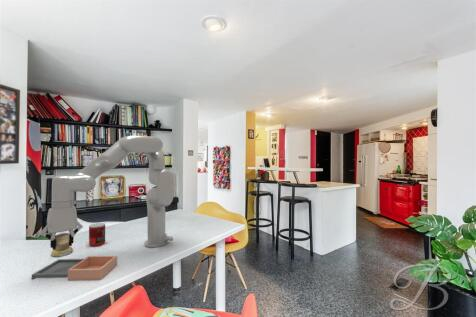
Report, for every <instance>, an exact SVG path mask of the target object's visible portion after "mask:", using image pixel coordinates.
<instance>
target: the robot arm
mask: <svg viewBox="0 0 476 317" xmlns="http://www.w3.org/2000/svg"><path fill="white" fill-rule="evenodd" d="M163 147H164V143H163V141H162V139H161V138H160V137H158V136H148V135H147V136H145V135H127V136H126V135H125V136H122V137H121V138H119V139H118V140H117V141H116V142H115V143H113V144H112V145H111V146H110V147H108V149H106V150H105V151H104V152H103V153H101V155H98V157H96V158H95V159H94V160H92V161H91V162H90V163H88V164H87V165H86V166H84V167H83V168H82V169H80V171H78V172H77V173H76V174H75V175H74V176H71V175H56V176H55V175H54V177H52V180H51V207H50V208H49V209H48V212H47V218H46V226H45V227H43V229H42V230H41V231H39V235H40V236H42V237H45V238H46V239H48V240H50V248H52V251H53V250H55V249H56V240H55V235H57V233H58V234H59V233H62V232H63V233H64V232H67V231H68V233H69V234H70V241H69V246H70V247H72V246H73V244H74V237H75V235H76V234H78V232H79V231H80V230H81V229H83V228H84V226H83V225H82V224H81V223H80V222H79V221H78V215H77V209H76V208H77V206H75V205H76V204H78V203H79V200H76V199H75V196H74V195H75V192H77V193H79V192H82V193H85V192H90V191H92V190H93V189H94V188H95V187H96V184H97V181H96V179H97V178H99V177H100V176H101V175H103V174H104V173H106V172H109V171H111V170H113V169H114V168H116V167H117V166H119V164H120V163H122V162H123V160H125V159H126V158H127V157H128V156H129V155H130V154H132V153H136V154H137V153H138V154H140V153H142V154H143V153H144V154H145V155H146V157H147V159H148V181H149V183H150V184H151V185H154V186H156V187H152V188H150V189H149V190H148V191H147V192H146V195H145V200H146V208H147V240H146V241H145V242H144V246H145V247H147V248H159V247H163V246H166V245H167V244H168V243H169V242H172V241H173V240H174V239H173V236H168V234H167V233H166V207H169V206H170V205H171V204H172V202H173V200H174V184H175V183H174V182H175V181H174V180H175V179H174V175H173V173H172V172H171V171H170V170H169V169H167V168H166V164H165V156H164V153H163V152H162V150H163Z"/></svg>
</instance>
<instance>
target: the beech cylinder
mask: <svg viewBox="0 0 476 317" xmlns="http://www.w3.org/2000/svg"><path fill="white" fill-rule="evenodd" d="M55 240H56V249H55V251H64V250H67V249H69V241H70V233H69V232H63V233H62V232H61V233H58V234H56V235H55Z"/></svg>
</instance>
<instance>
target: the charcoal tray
mask: <svg viewBox="0 0 476 317" xmlns="http://www.w3.org/2000/svg"><path fill="white" fill-rule="evenodd" d="M84 259H85V258H60V259H57V260H54V261H52V262H51V263H49V264H48V265H46V266H44V267H43V268H40V269H39V270H38V271H36V272H33V273H32V274H31V280H36V279H39V278H42V279H43V278H46V279H47V278H49V279H50V278H68V270H69V269H70V268H72V267H73V266H75V265H76V264H78V263H79V262H81V261H82V260H84Z"/></svg>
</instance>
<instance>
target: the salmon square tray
mask: <svg viewBox="0 0 476 317" xmlns="http://www.w3.org/2000/svg"><path fill="white" fill-rule="evenodd" d="M83 259H84V260H82V261H81V262H79V263H78V264H76V265H75V266H73V267H72V268H70V269H69V270H68V277H67V281H96V280H97V281H101V280H102V279H103V278H104V277H105V276H106V275H108V274H109V273H110V272H111V271H112V270H113V269H114V268H115V267H116V266H117V265H118V256H117V255H89V256H87V257H85V258H83Z"/></svg>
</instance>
